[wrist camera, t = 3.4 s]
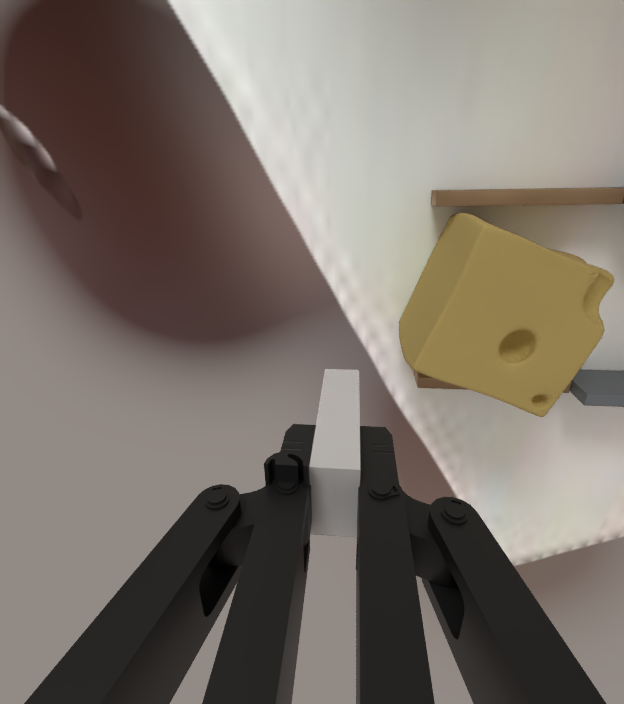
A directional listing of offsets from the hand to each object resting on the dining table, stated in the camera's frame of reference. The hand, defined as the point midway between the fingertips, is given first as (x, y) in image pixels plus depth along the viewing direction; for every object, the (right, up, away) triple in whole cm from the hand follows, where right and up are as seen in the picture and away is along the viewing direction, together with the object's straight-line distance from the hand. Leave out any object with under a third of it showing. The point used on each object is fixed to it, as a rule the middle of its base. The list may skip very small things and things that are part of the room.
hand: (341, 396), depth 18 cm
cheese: (+12, +7, +16) cm, 21 cm away
